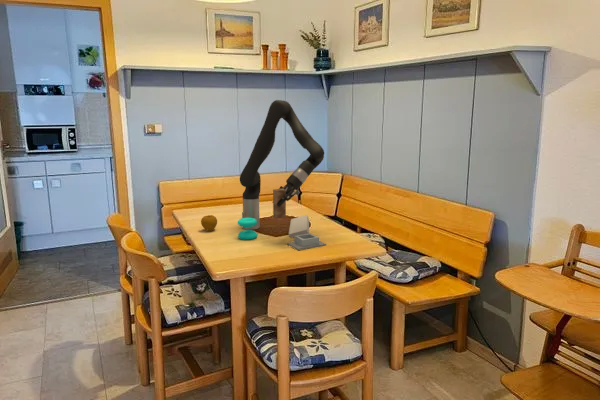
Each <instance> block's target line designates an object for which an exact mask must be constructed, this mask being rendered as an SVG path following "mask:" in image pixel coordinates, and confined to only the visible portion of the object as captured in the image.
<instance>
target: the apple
mask: <svg viewBox="0 0 600 400" xmlns="http://www.w3.org/2000/svg"><path fill="white" fill-rule="evenodd" d="M200 224H201V226H202V228H203V229H204V230H205V231H206V232H212V231H214V230H215V228H216V227H217V224H218V219H217V217H216V216H214V215H213V214H208V215H205V216H203V217H202V218H201V220H200Z"/></svg>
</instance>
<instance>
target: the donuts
mask: <svg viewBox="0 0 600 400" xmlns="http://www.w3.org/2000/svg"><path fill="white" fill-rule="evenodd" d="M256 224H257V220H256V219H254V218H242V217H241V218H239V219H238V220H237V225H238V226H240V227H253V226H255V225H256ZM237 237H238V239H240V240H244V241H246V240H247V241H248V240H249V241H250V240H254V239H256V238H257V237H258V233H257V232H256V230H254V229H253V230H248V229H242V230H241V231H239V232H238V233H237Z"/></svg>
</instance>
